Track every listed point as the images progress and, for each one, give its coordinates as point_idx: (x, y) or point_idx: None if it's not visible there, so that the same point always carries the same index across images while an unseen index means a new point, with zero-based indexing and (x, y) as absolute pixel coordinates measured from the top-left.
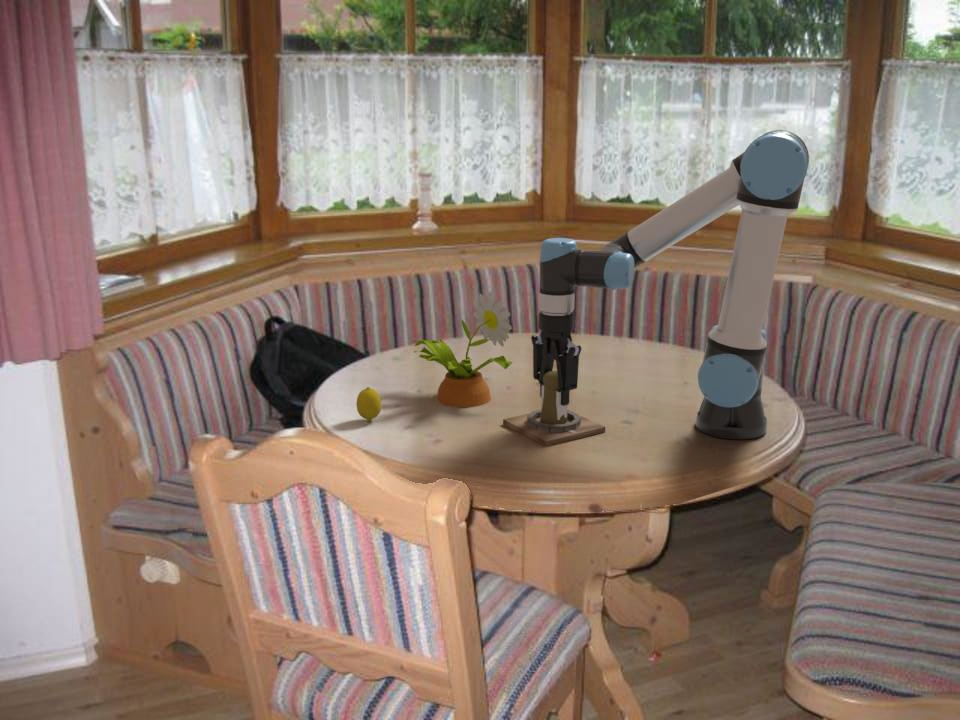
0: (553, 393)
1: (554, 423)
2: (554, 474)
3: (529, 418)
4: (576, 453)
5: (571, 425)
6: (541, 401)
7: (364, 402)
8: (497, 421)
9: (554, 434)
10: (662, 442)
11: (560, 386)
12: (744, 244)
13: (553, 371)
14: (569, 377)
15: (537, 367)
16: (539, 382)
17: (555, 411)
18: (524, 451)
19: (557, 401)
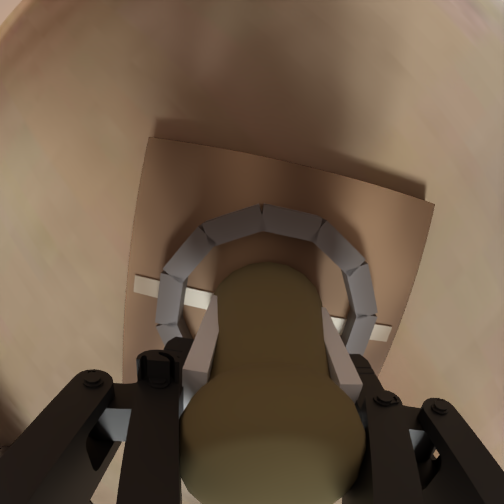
0: (231, 355)
1: (225, 280)
2: (33, 36)
3: (337, 239)
4: (59, 177)
5: (158, 305)
6: (337, 333)
7: None
8: (453, 213)
9: (174, 215)
10: (21, 390)
11: (160, 393)
12: None
13: (296, 501)
14: (29, 427)
15: (454, 463)
16: (390, 395)
17: (222, 307)
18: (183, 54)
19: (204, 334)
